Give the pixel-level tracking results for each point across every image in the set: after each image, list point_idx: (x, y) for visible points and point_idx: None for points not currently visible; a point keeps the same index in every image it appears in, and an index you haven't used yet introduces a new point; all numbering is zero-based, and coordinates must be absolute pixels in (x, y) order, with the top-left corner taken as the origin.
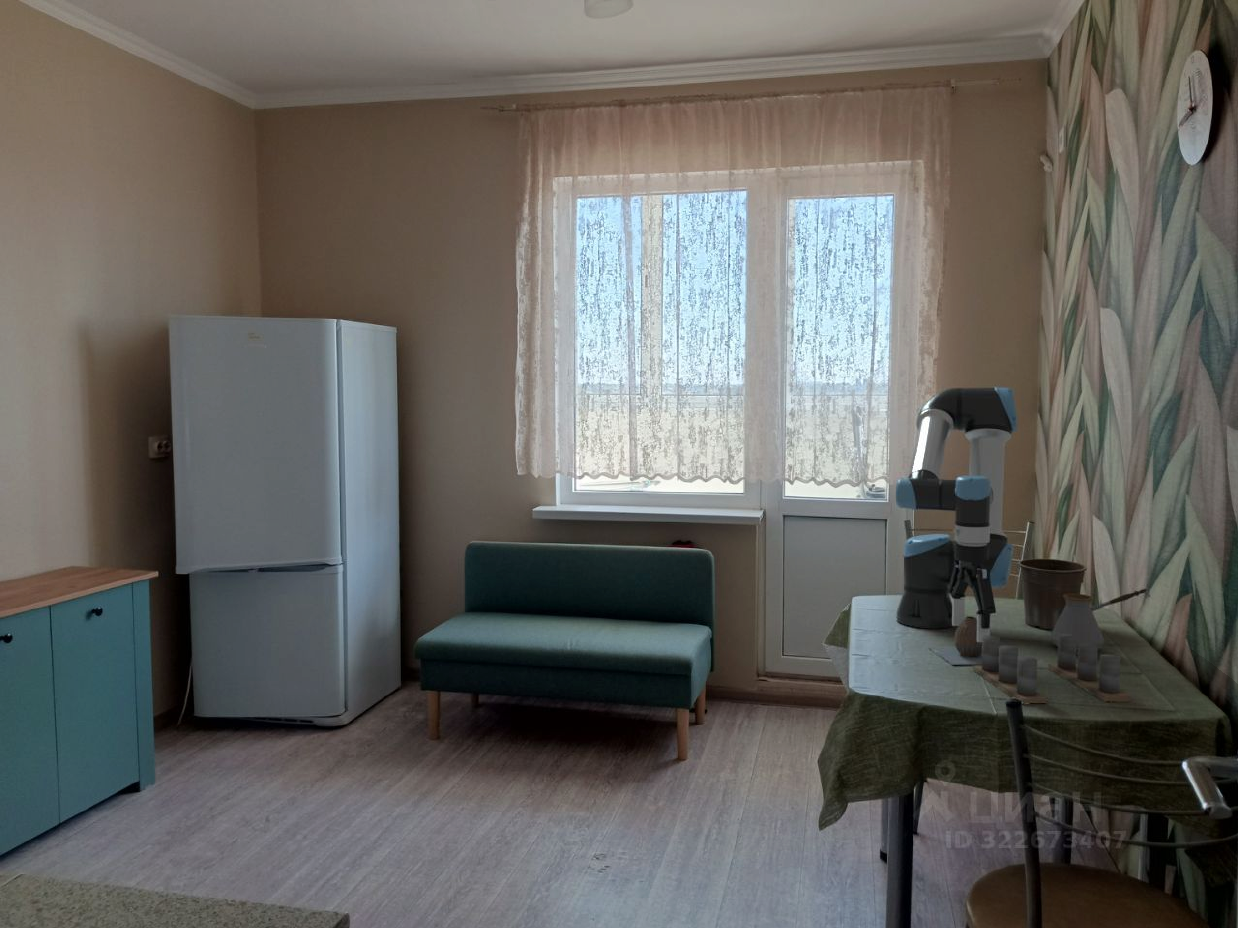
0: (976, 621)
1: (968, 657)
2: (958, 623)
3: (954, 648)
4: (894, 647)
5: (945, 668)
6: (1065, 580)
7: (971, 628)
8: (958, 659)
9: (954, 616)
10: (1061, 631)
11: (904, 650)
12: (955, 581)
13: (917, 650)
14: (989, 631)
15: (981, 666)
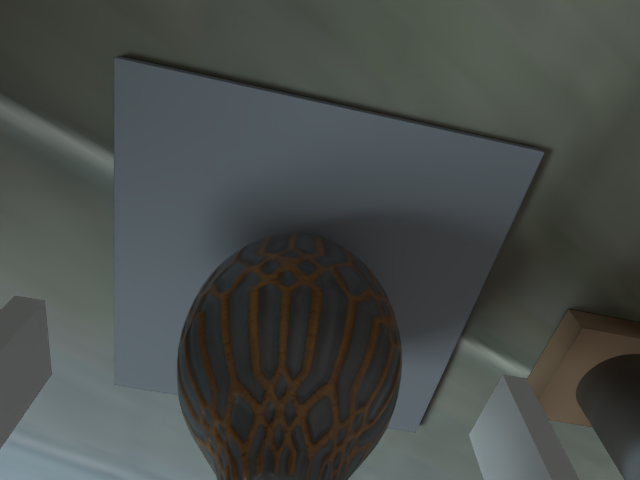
0: (334, 462)
1: None
2: (38, 357)
3: (159, 291)
4: (81, 475)
5: (430, 459)
6: None
7: (361, 463)
8: None
9: (3, 437)
10: None
11: (134, 465)
12: None
13: (141, 427)
14: (562, 453)
15: (560, 395)
